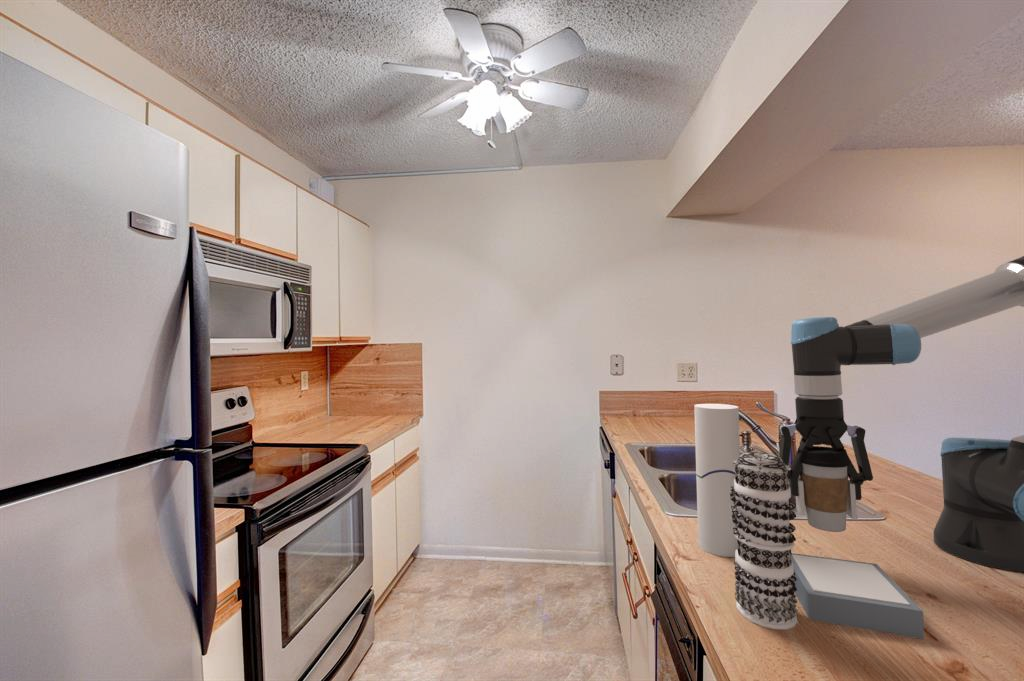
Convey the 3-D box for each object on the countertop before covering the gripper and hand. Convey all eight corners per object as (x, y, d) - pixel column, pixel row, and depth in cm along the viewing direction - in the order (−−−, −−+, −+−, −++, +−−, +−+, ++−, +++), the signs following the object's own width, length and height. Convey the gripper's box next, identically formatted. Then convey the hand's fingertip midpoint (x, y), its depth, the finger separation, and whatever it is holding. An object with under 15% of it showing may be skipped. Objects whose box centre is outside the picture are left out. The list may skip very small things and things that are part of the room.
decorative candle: (720, 606, 69) (716, 453, 69) (753, 589, 73) (749, 446, 74) (779, 639, 61) (773, 466, 61) (812, 618, 65) (806, 457, 66)
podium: (877, 586, 73) (876, 562, 74) (924, 639, 60) (922, 609, 60) (784, 573, 78) (784, 551, 78) (809, 619, 65) (808, 592, 65)
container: (749, 558, 84) (744, 409, 85) (703, 555, 86) (699, 408, 86) (735, 539, 92) (731, 403, 93) (694, 536, 94) (690, 403, 95)
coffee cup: (840, 539, 75) (834, 455, 76) (791, 523, 83) (786, 447, 83) (863, 528, 79) (857, 448, 80) (814, 514, 87) (809, 441, 87)
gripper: (873, 394, 82) (881, 511, 81) (754, 394, 89) (761, 503, 88) (893, 398, 75) (902, 527, 74) (762, 398, 82) (770, 516, 81)
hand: (825, 514), depth 81 cm, fingers closed on coffee cup, 7 cm apart
